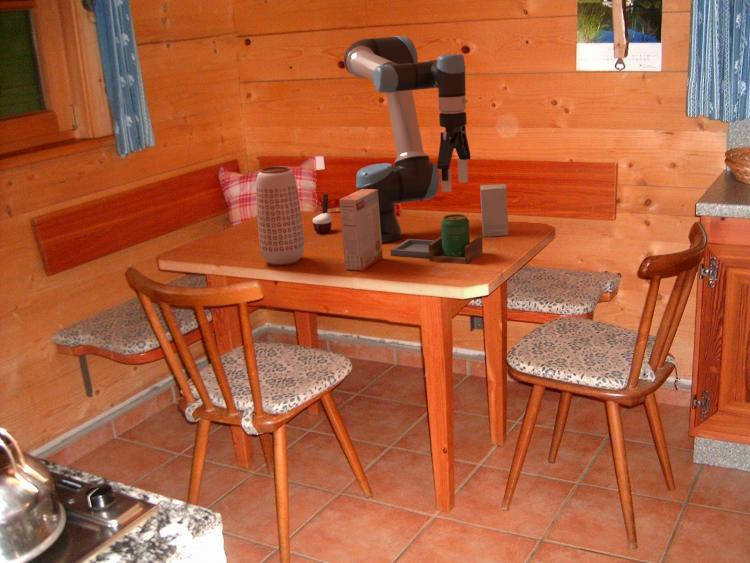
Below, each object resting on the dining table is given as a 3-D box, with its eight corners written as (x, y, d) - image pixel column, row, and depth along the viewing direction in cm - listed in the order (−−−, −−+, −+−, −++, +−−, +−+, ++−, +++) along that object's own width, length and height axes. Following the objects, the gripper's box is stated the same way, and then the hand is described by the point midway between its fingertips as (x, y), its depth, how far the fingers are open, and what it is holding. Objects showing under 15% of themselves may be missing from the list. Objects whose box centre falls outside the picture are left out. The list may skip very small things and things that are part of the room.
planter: (274, 254, 266) (265, 164, 258) (313, 256, 261) (305, 164, 252) (253, 266, 254) (243, 172, 246) (293, 269, 249) (284, 173, 241)
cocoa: (321, 237, 285) (317, 202, 281) (307, 234, 289) (304, 199, 285) (340, 229, 292) (337, 195, 287) (327, 226, 296) (324, 193, 291)
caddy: (429, 261, 249) (428, 244, 247) (444, 250, 259) (444, 234, 257) (468, 264, 243) (467, 247, 242) (482, 252, 254) (482, 236, 252)
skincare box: (507, 231, 276) (506, 183, 271) (508, 236, 270) (507, 187, 265) (481, 232, 277) (480, 184, 272) (481, 237, 271) (480, 188, 266)
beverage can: (471, 253, 254) (470, 213, 250) (468, 260, 247) (467, 220, 243) (444, 253, 256) (442, 214, 252) (440, 260, 248) (439, 220, 245)
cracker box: (365, 256, 257) (360, 188, 251) (383, 258, 255) (379, 188, 248) (343, 270, 245) (338, 198, 239) (362, 271, 243) (357, 199, 237)
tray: (390, 255, 257) (390, 249, 256) (408, 244, 268) (408, 238, 267) (431, 258, 251) (430, 252, 251) (447, 247, 262) (447, 241, 262)
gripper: (449, 117, 227) (452, 196, 233) (480, 106, 248) (481, 178, 254) (423, 117, 230) (426, 195, 236) (455, 106, 251) (457, 178, 257)
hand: (455, 187), depth 245 cm, fingers open, 13 cm apart
